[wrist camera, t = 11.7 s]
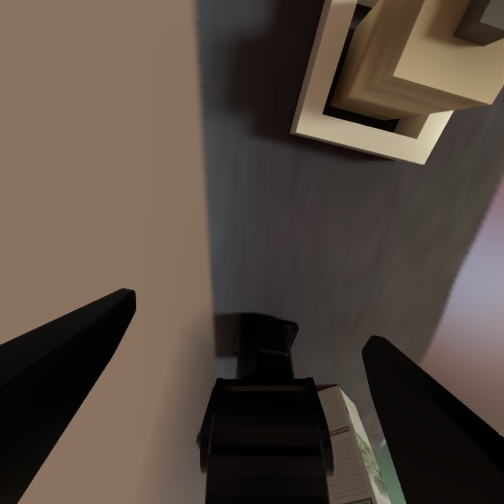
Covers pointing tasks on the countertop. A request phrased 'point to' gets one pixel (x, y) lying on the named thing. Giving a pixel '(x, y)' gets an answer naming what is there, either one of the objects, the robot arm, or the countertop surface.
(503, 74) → the wooden peg
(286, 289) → the countertop surface
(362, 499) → the syrup box
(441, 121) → the cream square ring
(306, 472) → the robot arm
